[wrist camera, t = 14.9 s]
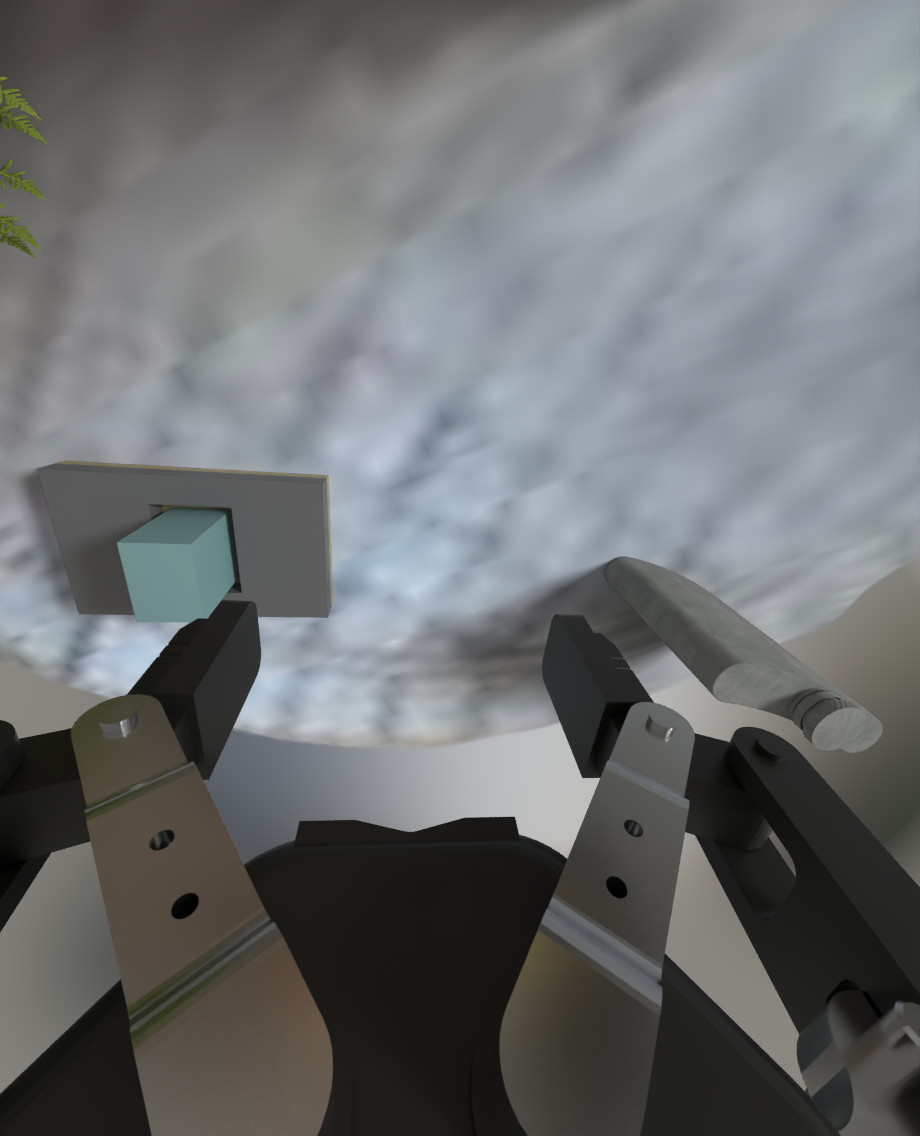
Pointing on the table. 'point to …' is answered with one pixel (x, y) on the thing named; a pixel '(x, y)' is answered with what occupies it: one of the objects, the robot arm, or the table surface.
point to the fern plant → (35, 134)
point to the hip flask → (740, 657)
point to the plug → (180, 564)
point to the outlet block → (141, 493)
